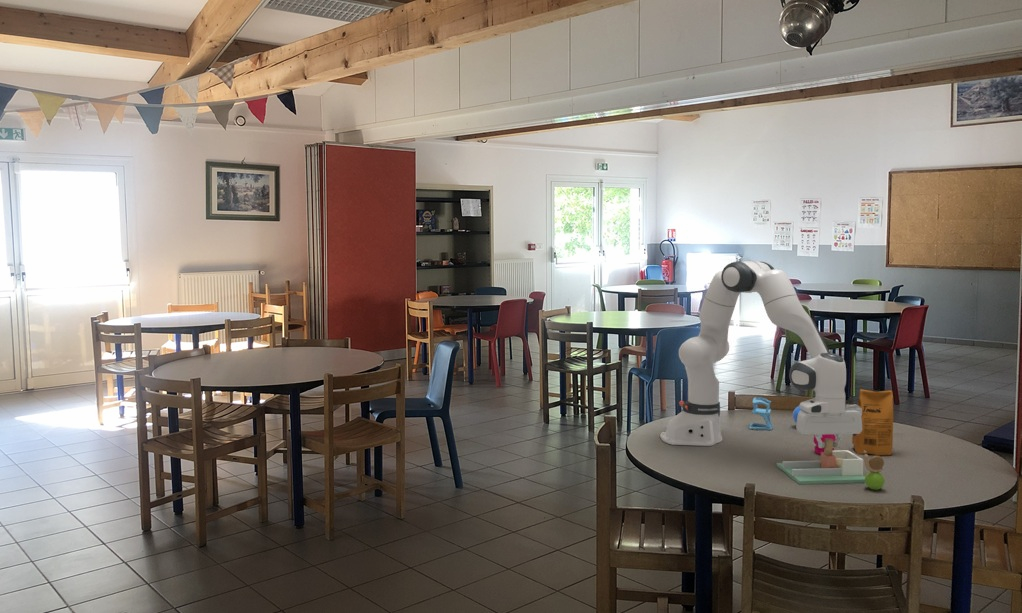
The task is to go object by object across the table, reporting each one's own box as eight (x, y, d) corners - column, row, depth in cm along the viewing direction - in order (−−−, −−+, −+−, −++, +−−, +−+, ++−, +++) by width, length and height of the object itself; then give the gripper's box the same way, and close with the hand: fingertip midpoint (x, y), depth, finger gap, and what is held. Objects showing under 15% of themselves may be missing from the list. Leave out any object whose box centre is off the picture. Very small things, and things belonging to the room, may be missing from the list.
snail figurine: (857, 486, 237) (859, 448, 236) (877, 485, 238) (879, 447, 237) (867, 492, 232) (868, 453, 231) (887, 492, 233) (889, 452, 231)
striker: (827, 472, 247) (828, 441, 246) (820, 467, 252) (821, 437, 251) (835, 472, 247) (836, 441, 246) (828, 467, 252) (829, 437, 251)
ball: (847, 458, 247) (850, 470, 248) (841, 454, 251) (844, 466, 252) (835, 462, 247) (838, 473, 248) (829, 458, 251) (832, 469, 252)
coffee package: (850, 446, 279) (852, 386, 276) (888, 448, 276) (890, 387, 273) (855, 454, 269) (857, 392, 267) (894, 457, 266) (897, 393, 264)
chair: (771, 431, 299) (771, 401, 297) (748, 429, 302) (749, 399, 301) (773, 426, 306) (774, 396, 304) (751, 424, 309) (752, 395, 308)
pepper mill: (837, 456, 268) (839, 399, 265) (815, 455, 269) (817, 398, 267) (833, 450, 275) (835, 394, 272) (811, 449, 276) (813, 393, 274)
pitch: (799, 484, 240) (799, 465, 239) (776, 465, 258) (777, 448, 257) (869, 482, 241) (869, 463, 240) (841, 464, 259) (842, 446, 258)
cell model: (826, 433, 296) (827, 408, 295) (792, 430, 300) (793, 406, 299) (823, 426, 306) (824, 402, 305) (791, 424, 309) (792, 400, 308)
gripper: (857, 401, 251) (855, 443, 252) (794, 403, 250) (793, 445, 251) (867, 406, 244) (865, 449, 246) (803, 407, 243) (801, 451, 245)
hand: (828, 447), depth 248 cm, fingers open, 3 cm apart
